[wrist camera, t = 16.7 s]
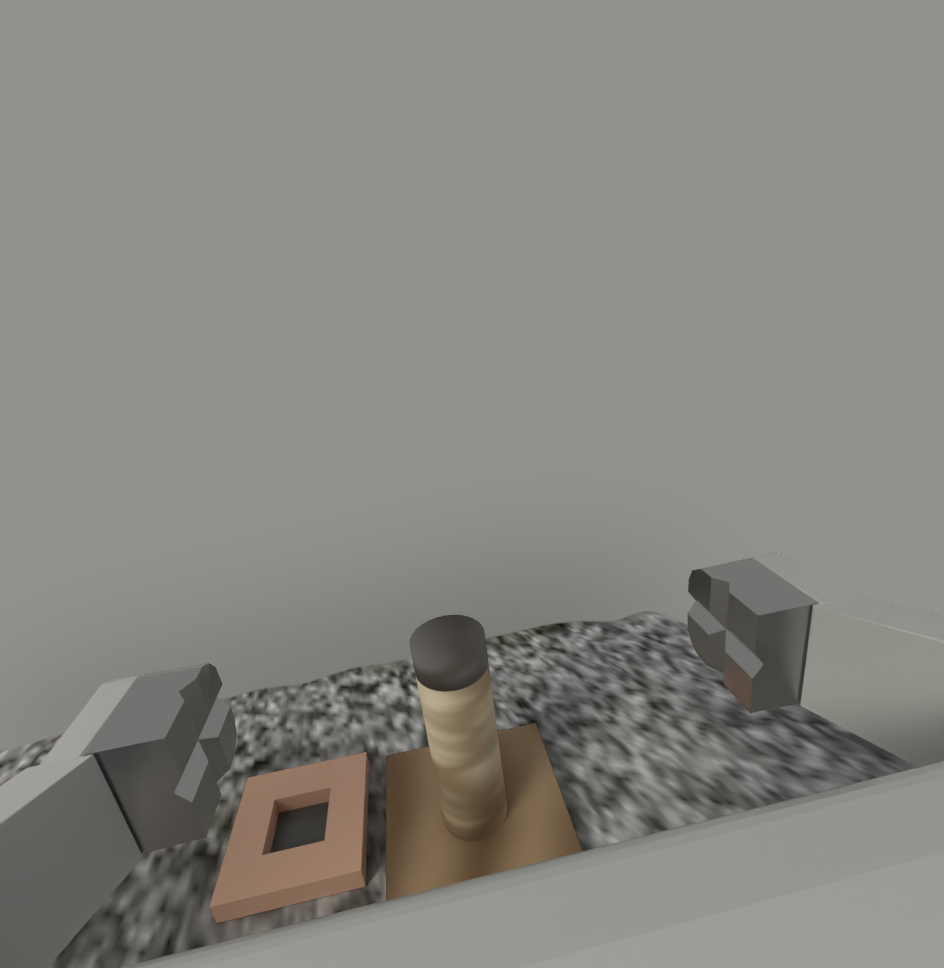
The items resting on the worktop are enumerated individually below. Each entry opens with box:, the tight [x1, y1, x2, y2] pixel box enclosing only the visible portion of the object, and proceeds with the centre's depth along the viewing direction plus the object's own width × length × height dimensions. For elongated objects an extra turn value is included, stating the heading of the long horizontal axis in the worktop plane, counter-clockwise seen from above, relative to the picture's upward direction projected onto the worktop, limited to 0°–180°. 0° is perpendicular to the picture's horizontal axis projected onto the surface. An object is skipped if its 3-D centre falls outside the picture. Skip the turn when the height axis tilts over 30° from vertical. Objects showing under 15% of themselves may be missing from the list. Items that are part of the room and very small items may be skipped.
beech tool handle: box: [410, 615, 507, 842], centre depth 32 cm, size 4×4×14 cm
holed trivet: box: [209, 752, 370, 923], centre depth 35 cm, size 9×9×2 cm
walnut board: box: [386, 723, 582, 901], centre depth 35 cm, size 12×12×1 cm
